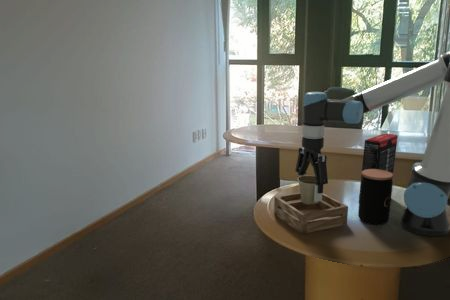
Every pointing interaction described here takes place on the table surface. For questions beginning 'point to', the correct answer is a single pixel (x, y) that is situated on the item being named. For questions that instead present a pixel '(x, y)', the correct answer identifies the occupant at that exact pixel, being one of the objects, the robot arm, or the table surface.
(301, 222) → the crate
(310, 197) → the flower pot
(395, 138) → the graphics card box
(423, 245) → the table surface
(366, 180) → the coffee jar
